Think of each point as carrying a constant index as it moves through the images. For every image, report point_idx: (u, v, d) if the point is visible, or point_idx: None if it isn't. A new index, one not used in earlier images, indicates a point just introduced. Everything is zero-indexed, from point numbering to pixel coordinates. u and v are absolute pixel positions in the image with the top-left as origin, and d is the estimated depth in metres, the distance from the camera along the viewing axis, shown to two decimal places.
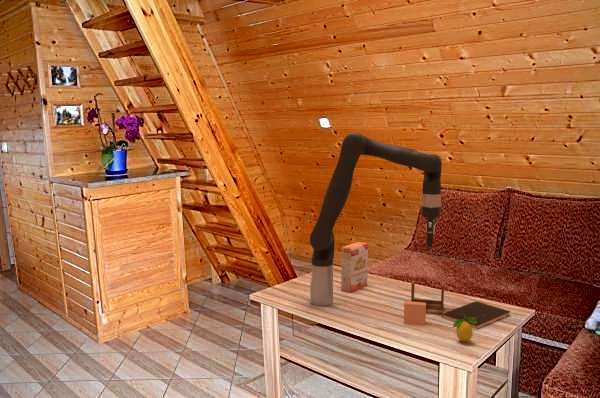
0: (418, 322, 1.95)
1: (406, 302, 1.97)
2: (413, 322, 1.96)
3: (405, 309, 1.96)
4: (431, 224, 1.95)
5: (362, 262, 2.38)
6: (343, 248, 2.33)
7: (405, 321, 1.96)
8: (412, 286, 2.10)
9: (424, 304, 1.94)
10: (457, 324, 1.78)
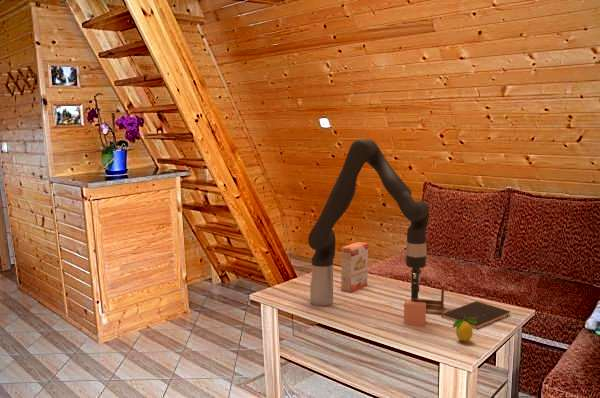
0: (418, 322, 1.95)
1: (406, 302, 1.97)
2: (413, 322, 1.96)
3: (405, 309, 1.96)
4: (416, 275, 1.87)
5: (362, 262, 2.38)
6: (343, 248, 2.33)
7: (405, 321, 1.96)
8: None
9: (424, 304, 1.94)
10: (457, 324, 1.78)
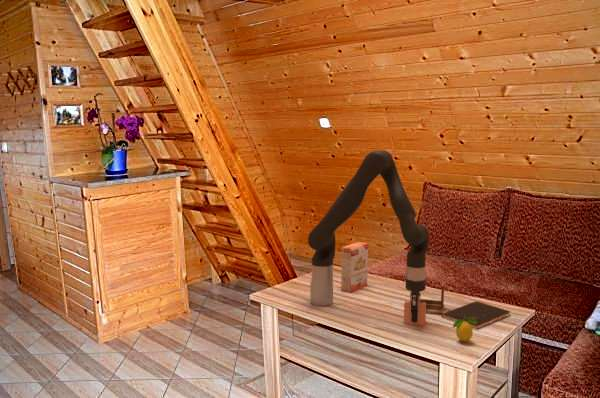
0: (418, 322, 1.95)
1: (406, 302, 1.97)
2: (413, 322, 1.96)
3: (405, 309, 1.96)
4: (415, 303, 1.89)
5: (362, 262, 2.38)
6: (343, 248, 2.33)
7: (405, 321, 1.96)
8: None
9: (424, 304, 1.94)
10: (457, 324, 1.78)
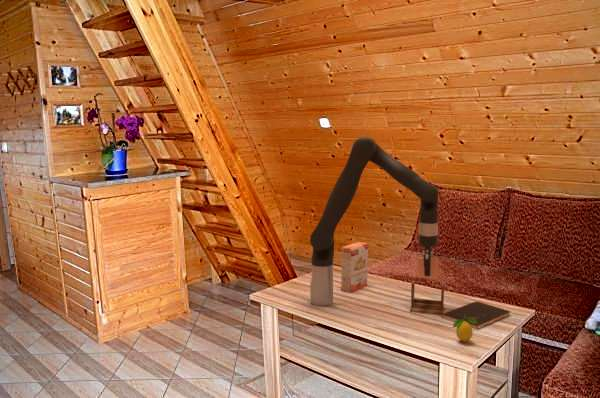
0: (430, 276, 2.06)
1: (419, 257, 2.08)
2: (426, 276, 2.07)
3: (418, 264, 2.07)
4: (428, 257, 2.00)
5: (362, 262, 2.38)
6: (343, 248, 2.33)
7: (418, 275, 2.07)
8: (412, 286, 2.10)
9: (436, 259, 2.05)
10: (457, 324, 1.78)
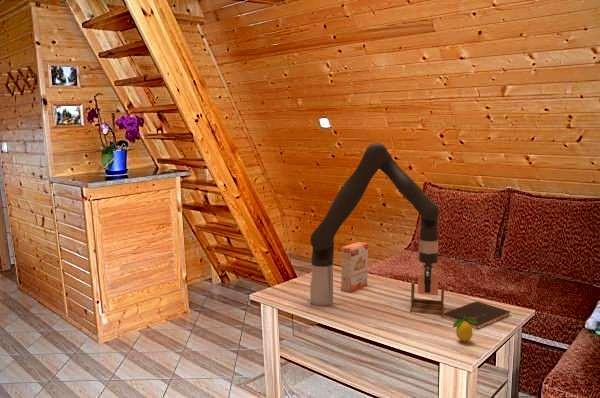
0: (431, 292, 2.09)
1: (420, 274, 2.11)
2: None
3: (419, 280, 2.10)
4: (428, 274, 2.03)
5: (362, 262, 2.38)
6: (343, 248, 2.33)
7: (419, 291, 2.10)
8: (412, 286, 2.10)
9: (437, 275, 2.08)
10: (457, 324, 1.78)
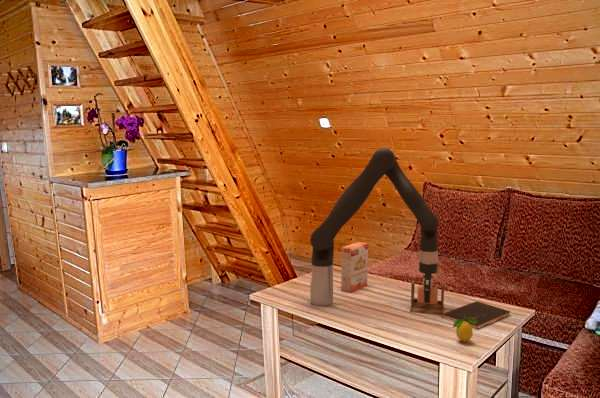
0: None
1: (419, 287, 2.12)
2: None
3: (418, 293, 2.11)
4: (428, 282, 2.03)
5: (362, 262, 2.38)
6: (343, 248, 2.33)
7: None
8: (412, 286, 2.10)
9: (436, 288, 2.09)
10: (457, 324, 1.78)
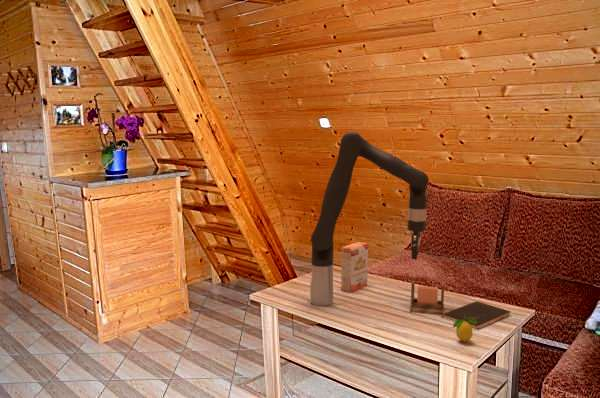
0: None
1: (419, 287, 2.12)
2: None
3: (418, 293, 2.11)
4: (416, 237, 2.06)
5: (362, 262, 2.38)
6: (343, 248, 2.33)
7: None
8: (412, 286, 2.10)
9: (436, 288, 2.09)
10: (457, 324, 1.78)
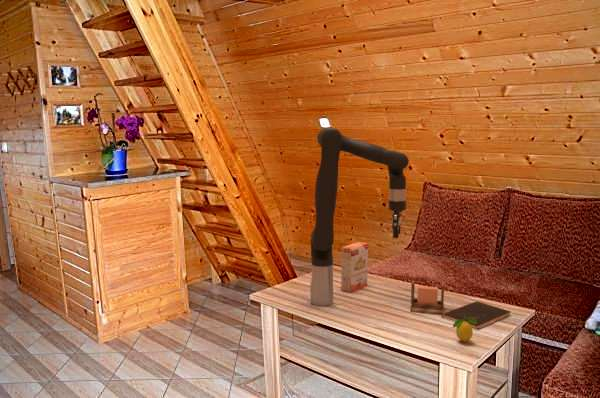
0: None
1: (419, 287, 2.12)
2: None
3: (418, 293, 2.11)
4: (396, 216, 2.13)
5: (362, 262, 2.38)
6: (343, 248, 2.33)
7: None
8: (412, 286, 2.10)
9: (436, 288, 2.09)
10: (457, 324, 1.78)
